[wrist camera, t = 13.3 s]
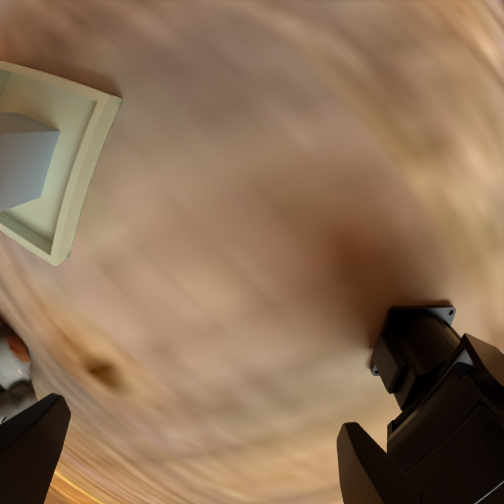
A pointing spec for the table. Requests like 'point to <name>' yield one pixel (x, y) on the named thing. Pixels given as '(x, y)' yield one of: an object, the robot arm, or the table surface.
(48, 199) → the tray
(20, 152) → the post
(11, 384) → the lucky cat figurine
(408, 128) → the table surface
